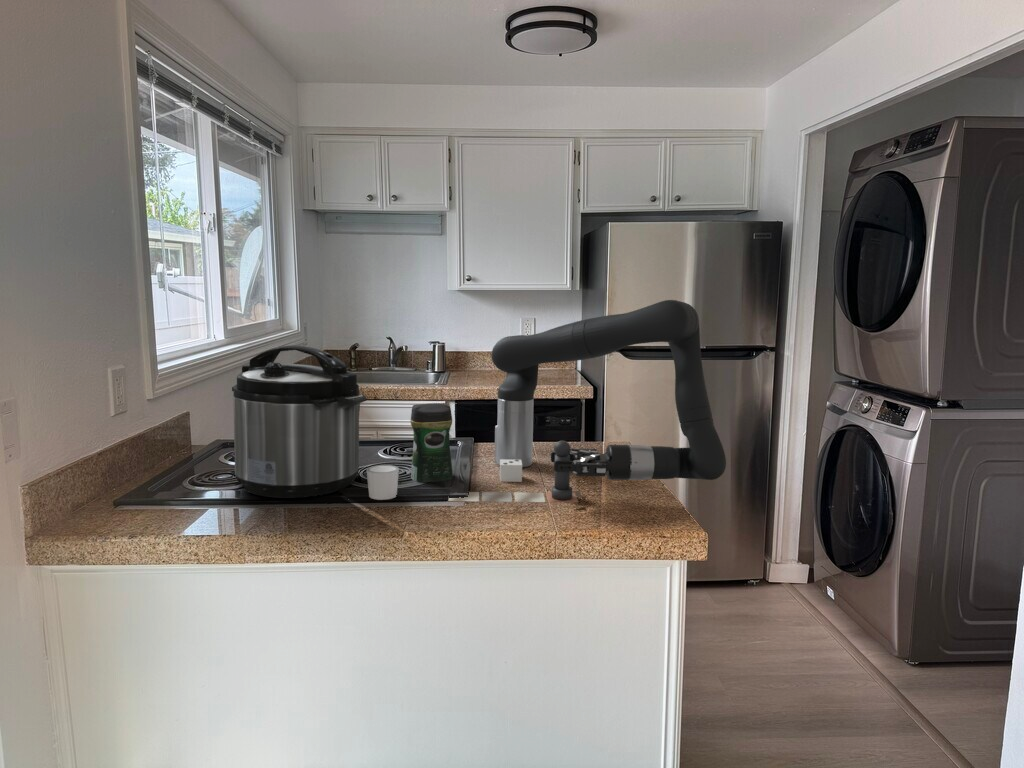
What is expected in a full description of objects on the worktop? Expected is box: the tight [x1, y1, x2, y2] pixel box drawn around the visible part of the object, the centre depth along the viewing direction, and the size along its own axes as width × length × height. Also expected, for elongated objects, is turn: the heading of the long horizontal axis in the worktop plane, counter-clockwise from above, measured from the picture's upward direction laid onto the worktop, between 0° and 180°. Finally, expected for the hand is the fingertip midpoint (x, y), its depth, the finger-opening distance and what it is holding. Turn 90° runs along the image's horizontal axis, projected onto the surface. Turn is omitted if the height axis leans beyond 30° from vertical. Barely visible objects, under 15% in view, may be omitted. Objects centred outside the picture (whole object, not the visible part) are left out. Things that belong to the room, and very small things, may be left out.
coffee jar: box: [409, 402, 454, 483], centre depth 161 cm, size 10×8×19 cm
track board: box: [447, 490, 587, 511], centre depth 148 cm, size 30×10×1 cm, turn 92°
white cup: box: [366, 464, 400, 501], centre depth 147 cm, size 7×7×7 cm
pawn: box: [551, 440, 573, 500], centre depth 148 cm, size 4×4×12 cm
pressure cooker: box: [231, 344, 367, 499], centre depth 156 cm, size 30×28×32 cm
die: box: [499, 459, 523, 483], centre depth 162 cm, size 5×5×5 cm
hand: (552, 461), depth 147 cm, fingers open, 7 cm apart
